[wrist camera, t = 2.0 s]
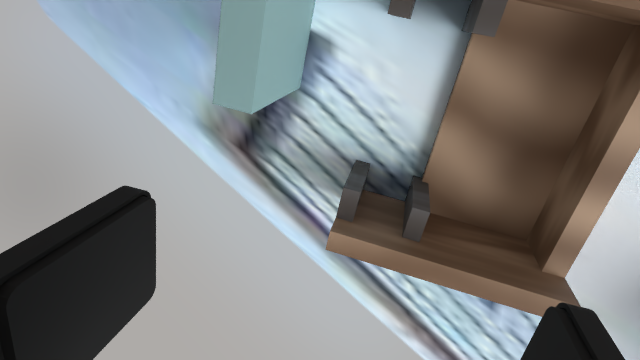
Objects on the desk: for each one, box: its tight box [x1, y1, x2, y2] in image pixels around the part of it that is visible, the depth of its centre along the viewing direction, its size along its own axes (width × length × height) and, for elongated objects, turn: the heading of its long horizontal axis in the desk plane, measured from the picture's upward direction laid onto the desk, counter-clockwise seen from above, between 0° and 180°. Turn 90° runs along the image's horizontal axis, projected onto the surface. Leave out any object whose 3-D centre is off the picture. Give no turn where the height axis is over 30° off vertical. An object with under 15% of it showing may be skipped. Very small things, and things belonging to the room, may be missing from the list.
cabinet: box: [326, 0, 640, 317], centre depth 25 cm, size 19×16×8 cm
